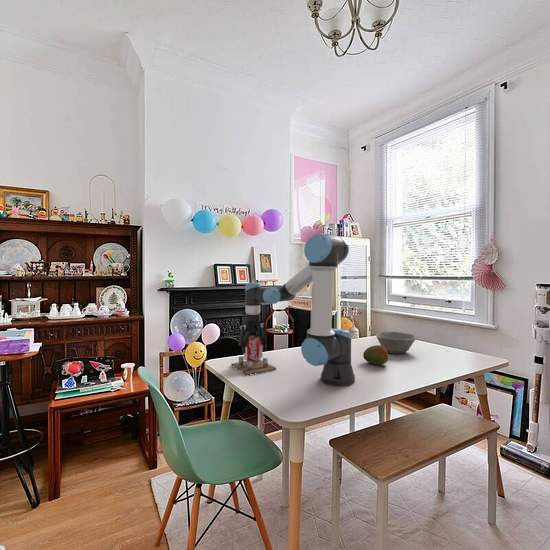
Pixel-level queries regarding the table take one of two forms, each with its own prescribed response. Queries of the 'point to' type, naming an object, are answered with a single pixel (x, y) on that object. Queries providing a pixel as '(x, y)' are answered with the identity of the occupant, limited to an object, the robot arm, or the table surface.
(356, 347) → the table surface
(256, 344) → the beverage can
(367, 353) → the fruit
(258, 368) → the peg board
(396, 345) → the ceramic bowl
